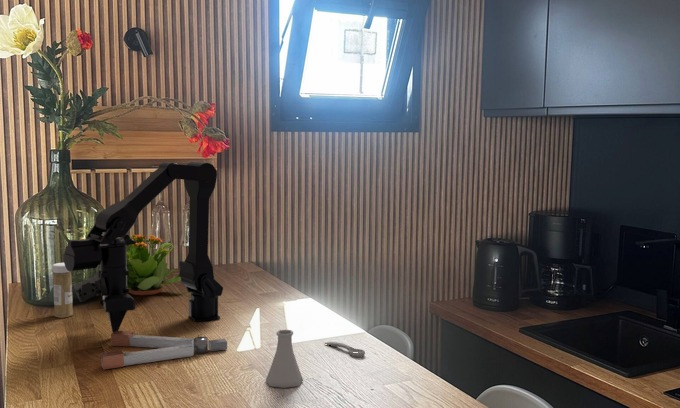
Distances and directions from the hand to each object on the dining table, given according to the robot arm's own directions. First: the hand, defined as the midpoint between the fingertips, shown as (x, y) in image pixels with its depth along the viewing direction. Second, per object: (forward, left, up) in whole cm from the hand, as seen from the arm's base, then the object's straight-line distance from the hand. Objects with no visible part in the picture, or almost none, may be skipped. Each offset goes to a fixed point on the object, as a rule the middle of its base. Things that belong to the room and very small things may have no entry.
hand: (115, 332), depth 153 cm
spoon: (-44, +30, -2) cm, 53 cm away
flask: (-25, +41, -2) cm, 48 cm away
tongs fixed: (-8, +19, -1) cm, 20 cm away
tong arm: (-8, +12, -1) cm, 14 cm away
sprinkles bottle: (+9, -23, -1) cm, 25 cm away
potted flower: (-15, -39, -2) cm, 42 cm away
